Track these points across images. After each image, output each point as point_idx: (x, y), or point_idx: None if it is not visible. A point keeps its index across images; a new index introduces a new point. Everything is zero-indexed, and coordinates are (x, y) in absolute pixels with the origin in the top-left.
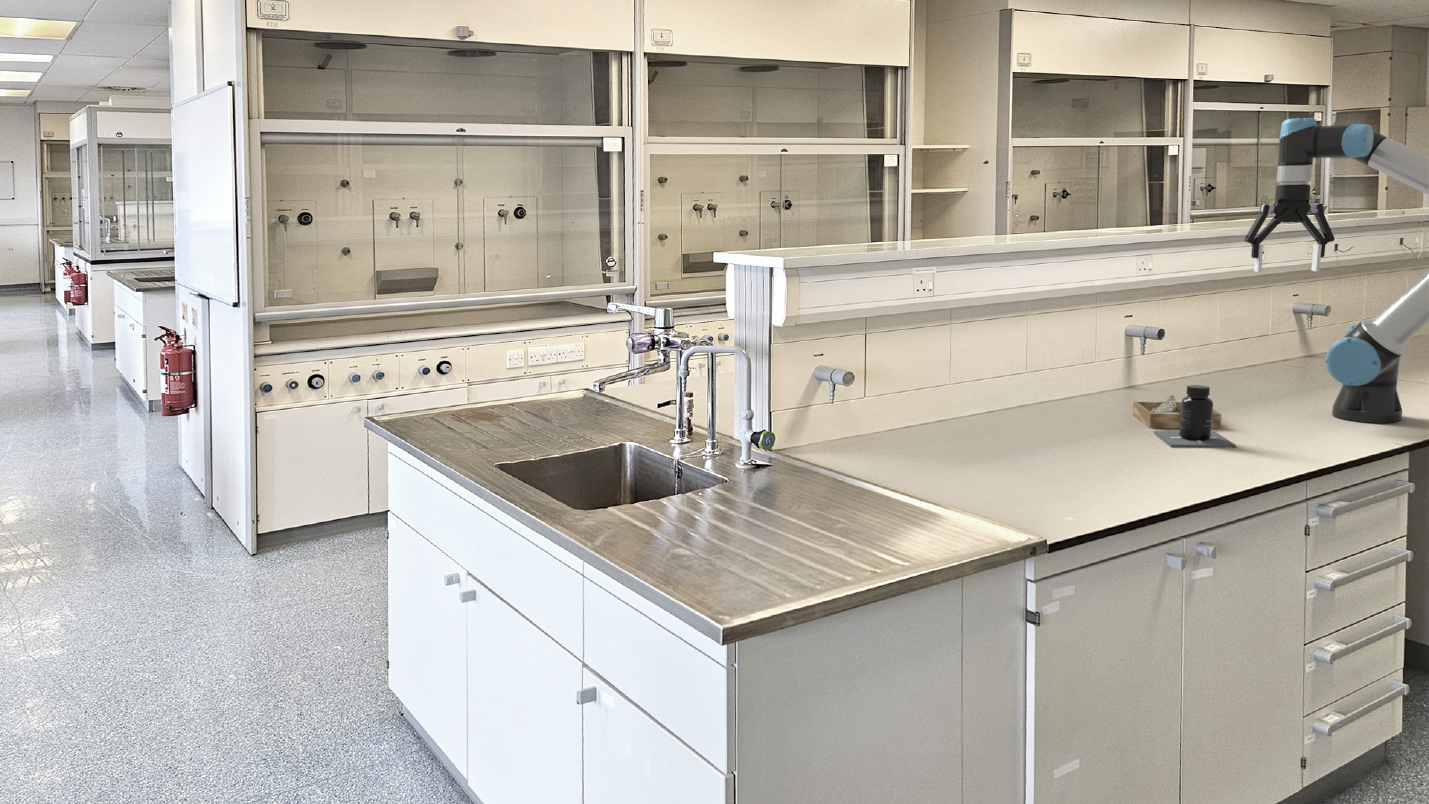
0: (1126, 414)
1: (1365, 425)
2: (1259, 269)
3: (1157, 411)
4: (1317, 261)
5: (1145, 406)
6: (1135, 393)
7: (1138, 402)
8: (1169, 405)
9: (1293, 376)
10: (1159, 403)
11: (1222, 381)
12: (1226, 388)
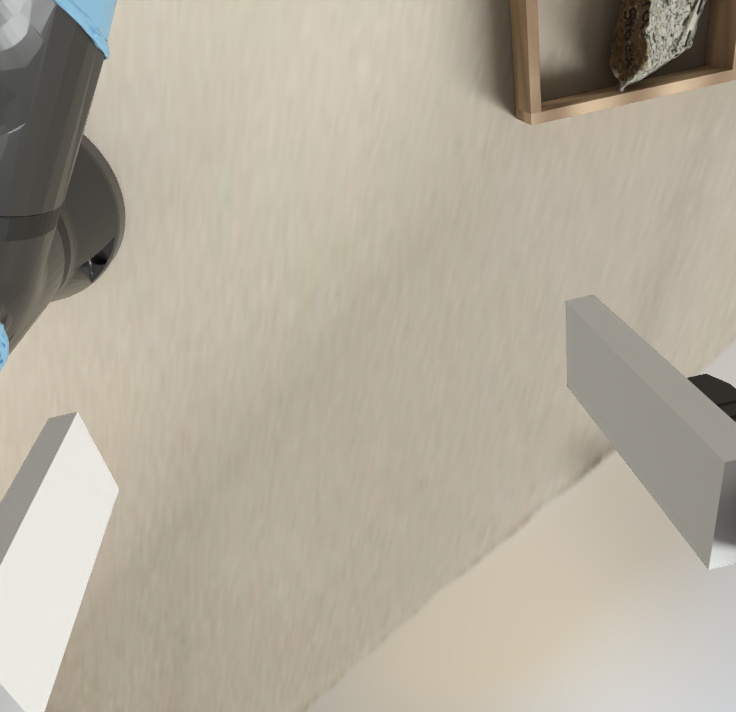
0: None
1: None
2: (592, 308)
3: (679, 9)
4: (40, 477)
5: (697, 74)
6: None
7: (728, 69)
8: (656, 8)
9: (198, 665)
10: (660, 84)
11: (364, 579)
12: (369, 506)
